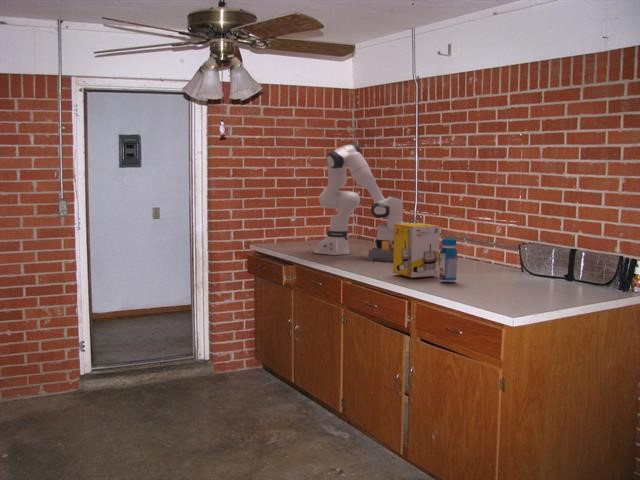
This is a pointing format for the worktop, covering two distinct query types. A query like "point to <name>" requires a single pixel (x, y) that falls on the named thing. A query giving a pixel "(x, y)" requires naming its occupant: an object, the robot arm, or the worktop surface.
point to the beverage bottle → (448, 260)
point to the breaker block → (380, 255)
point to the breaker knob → (386, 245)
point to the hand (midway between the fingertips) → (394, 248)
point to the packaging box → (416, 249)
